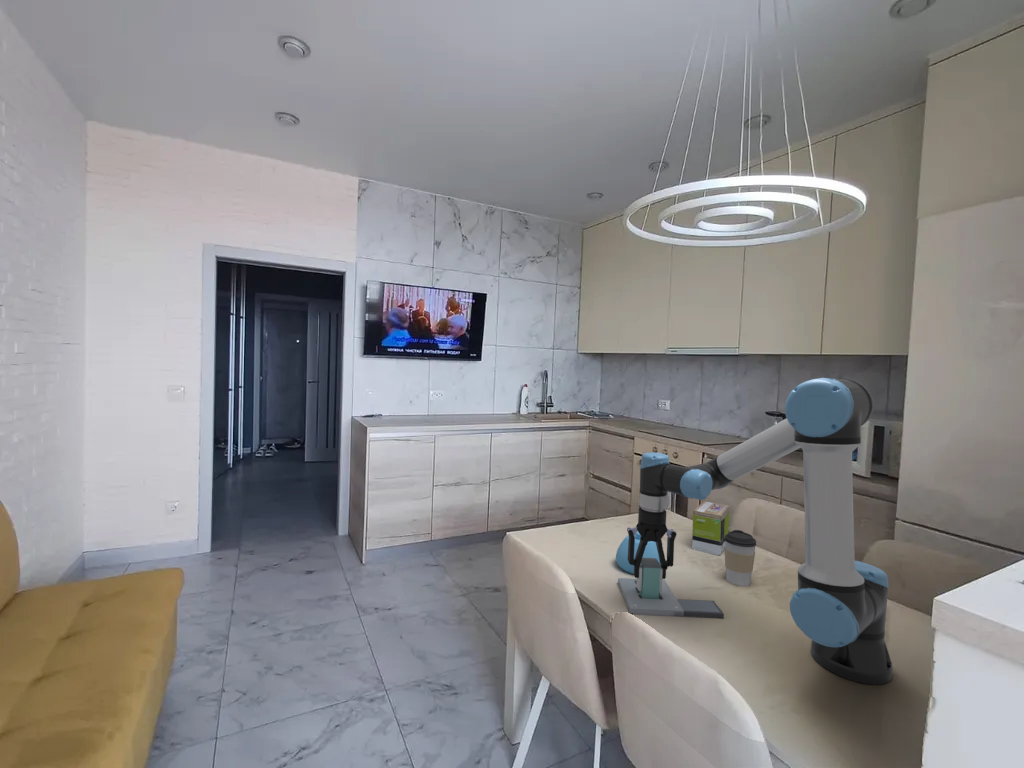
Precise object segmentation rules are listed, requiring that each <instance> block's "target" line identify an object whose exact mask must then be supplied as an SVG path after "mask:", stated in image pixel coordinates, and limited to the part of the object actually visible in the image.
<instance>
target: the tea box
mask: <svg viewBox="0 0 1024 768" xmlns="http://www.w3.org/2000/svg"><path fill="white" fill-rule="evenodd" d="M730 523H731V505H729V504H728V505H727V504H723V503H722V504H721V503H715V502H709V501H705V500H704V501H702V502H701V503H700V504H699V505H698V506H697V507H695V508H694V510H693V512H692V534H691V535H692V536H691V537H692V538H691V540H692V541H691V548H692V550H694V549H695V550H694V551H697V552H703V553H705V554H706V553H707V554H711V555H715V556H721V555H722V553H724V552H725V540H724V538H725V535H726V534H728V533H729V532H731V531H730V527H731V525H730Z"/></svg>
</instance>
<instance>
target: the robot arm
mask: <svg viewBox="0 0 1024 768" xmlns="http://www.w3.org/2000/svg"><path fill="white" fill-rule="evenodd" d="M784 411H785V418H784V419H783V420H781V421H779V422H777V423H775V424H774V425H772V426H770V427H769V428H767V429H764V430H763V431H761V432H760V433H758V434H755V435H754V436H751V437H750V438H748V439H747V440H745V441H743V442H741V443H740V444H737V445H736V446H734V447H732V448H730V449H729V450H727V451H725V452H723V453H721V454H720V455H718V456H716V457H714V458H712V459H711V460H709V461H707V462H704V463H698V464H694V465H689V466H681V465H676V464H672V463H670V457H669V456H668V454H665V453H661V452H645V453H643V454H642V455H641V458H640V466H639V494H638V495H639V498H638V506H639V508H638V518H637V520H638V521H637V524H636V525H635V526H634V527H632V528H631V527H627V536H628V535H629V541H628V562H629V564H630V565H634V574H633V575H634V579H637V588H638V590H639V591H641V590H642V566H641V565H640V564H641V560H642V557H643V554H644V551H645V548H646V545H647V543H648V542H650V541H654V542H656V546H657V551H658V555H659V560H660V564H661V566H660V584H659V592H662V580H666V578H667V570H668V568H669V567H671V568H673V566H674V557H675V556H674V555H675V540H676V537H677V532H676V531H675V530H674V529H671V528H668V527H667V506H668V493H671V494H676V495H679V496H682V497H686V498H687V499H693V500H699V501H703V500H704V501H705V499H707V498H708V496H710V494H711V493H712V491H713V490H721V489H723V488H726V487H727V486H729V485H730V484H731V483H732V482H734V481H737V480H738V479H739V478H742V477H744V476H746V475H748V474H751V473H752V472H754V471H756V470H758V469H761V468H762V467H764V466H767V465H768V464H772V462H775V461H777V460H779V459H780V458H783V457H785V456H787V455H789V454H791V453H794V451H797V450H800V449H801V450H802V460H803V461H802V464H803V499H804V500H803V502H804V503H803V504H804V507H803V508H804V540H805V542H804V545H805V547H804V548H805V552H804V553H805V562H803V563H802V564H801V565H798V567H797V590H796V591H795V592H794V593H793V594H792V596H791V598H790V601H789V611H790V616H791V617H792V621H793V622H794V623H795V625H796V627H797V628H799V629H800V631H801V632H802V633H803V634H804V635H805V636H806V637H807V638H809V639H810V640H811V644H810V653H811V655H812V658H813V659H814V660H815V661H816V663H818V664H819V665H820V666H822V667H824V669H826V670H828V671H829V672H832V673H833V674H835V675H837V676H839V677H842V678H844V679H847V680H849V681H853V682H857V683H859V684H865V685H884V684H888V683H889V682H890V681H891V680H892V679H893V663H892V660H891V656H890V654H889V650H888V646H887V644H886V640H885V635H886V630H885V629H886V621H887V617H886V616H887V608H888V607H887V606H888V605H887V604H888V594H889V593H888V592H889V589H890V586H889V577H888V575H887V573H886V572H885V571H884V570H883V569H881V568H879V567H877V566H875V565H871V564H869V563H866V562H862V561H860V560H856V559H855V558H856V555H855V552H856V551H855V522H854V521H855V517H854V515H855V514H854V513H855V512H854V486H853V485H854V484H853V483H854V482H853V481H854V480H853V478H854V476H853V452H854V451H855V450H856V449H857V448H859V447H861V445H862V438H861V437H862V435H861V427H862V426H864V425H865V424H866V423H867V422H868V421H869V420H870V419H871V417H872V416H873V413H874V411H875V401H874V398H873V396H872V394H871V392H870V391H869V389H868V388H867V387H866V386H865V385H864V384H862V383H860V382H859V381H856V380H854V379H850V378H841V377H840V378H834V377H833V378H831V377H830V378H829V377H820V378H813V379H810V380H809V379H808V380H806V381H803V382H802V383H800V384H798V385H797V386H796V387H794V388H793V389H792V390H791V392H789V395H788V396H787V398H786V401H785V404H784ZM636 532H639V534H640V535H641V538H640V543H639V546H638V549H637V553H636V556H635V559H634V545H635V537H634V536H636ZM665 535H666V536H667V540H666V555H665V552H664V547H663V546H664V545H663V540H662V538H663V537H665ZM665 556H666V557H665ZM891 678H892V679H891ZM890 679H891V680H890ZM888 681H889V682H888ZM887 682H888V683H887Z"/></svg>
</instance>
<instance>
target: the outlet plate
mask: <svg viewBox="0 0 1024 768" xmlns="http://www.w3.org/2000/svg"><path fill="white" fill-rule="evenodd" d="M617 584H618V587H619V589H620V592H621V593H622V596H623V599H624V601H625V605H626V606H627V609H628V612H629V614H630V613H633V614H632V615H644V616H645V615H647V616H648V615H649V616H667V617H684V616H683V615H684V610H683V609H682V607H681V606H680V604H679V602H678V601H677V599H678V598H677V597H676V596H675V595H674V592H673V591H672V589H671V588H670V586H669V585H668V582H667V581H666V579H662V592H659V599H642V597H640V593H639V590H638V588H637V578H629V577H617ZM674 612H675V613H674ZM676 612H677V613H676ZM680 613H681V614H680Z"/></svg>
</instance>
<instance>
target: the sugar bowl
mask: <svg viewBox="0 0 1024 768" xmlns="http://www.w3.org/2000/svg"><path fill="white" fill-rule="evenodd" d="M634 537H635V545H634V559H635V556H636V553H637V549H638V546H639V543H640V538H641V535H640V534H639V532H638V531H637V532H636V536H634ZM628 541H629V535H628V534H627V535H626V536H625V537H624V538H623V539H622V541H621V543H620V544H619V546H618V548H617V550H616V553H615V561H616V563H617V564H618V567H619V568H620V569H622V570H623V571H624V572H626V573H628V574H631V575H634V565H630V564H629V562H628ZM642 558H656V559H657V560H658V562H659V563H660V560H659V555H658V551H657V546H656V542H654V541H650V542H648V543H647V545H646V548H645V551H644V554H643V557H642ZM660 566H661V564H660Z"/></svg>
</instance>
